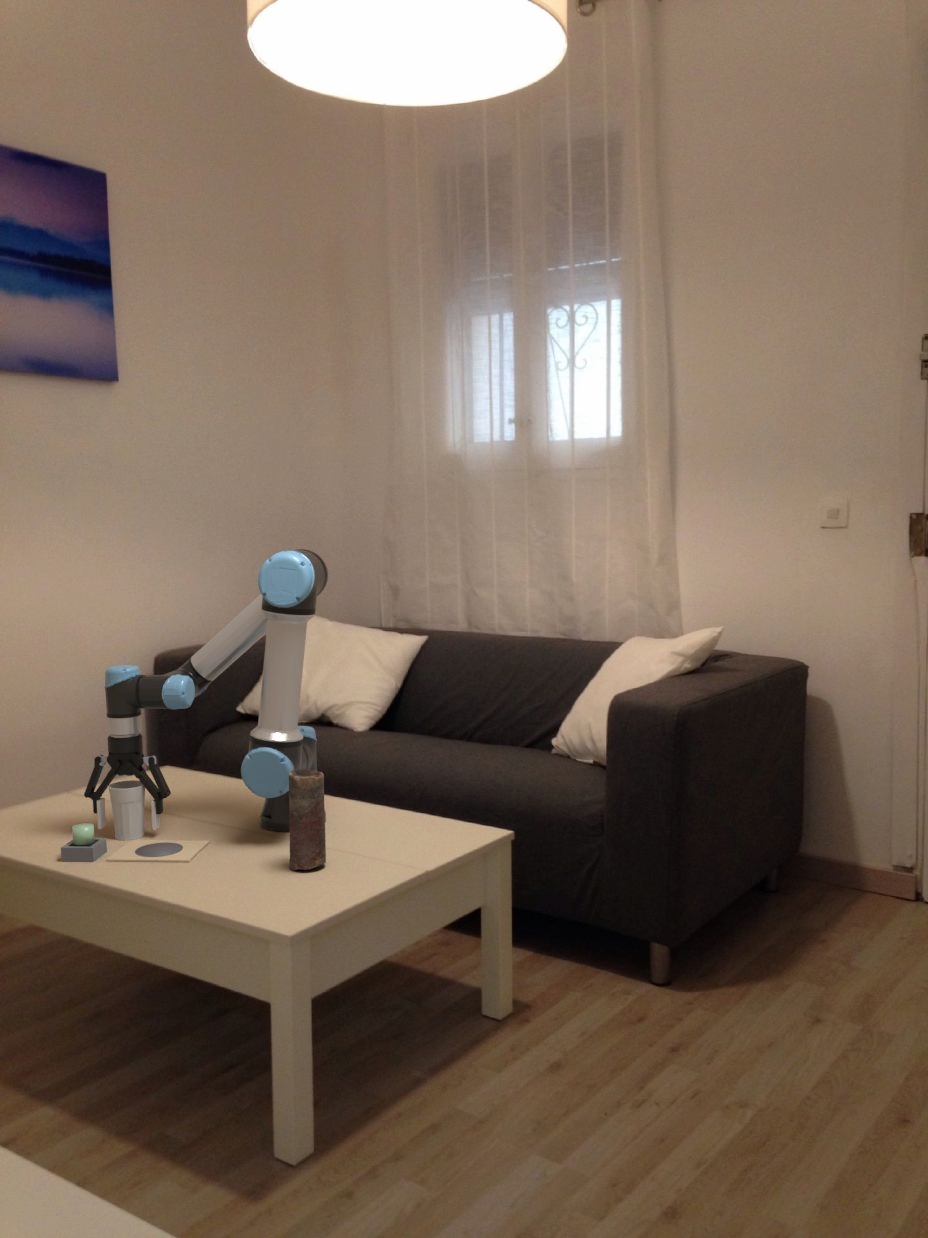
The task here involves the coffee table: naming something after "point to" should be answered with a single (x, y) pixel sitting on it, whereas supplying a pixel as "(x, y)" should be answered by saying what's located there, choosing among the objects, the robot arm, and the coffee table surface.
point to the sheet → (158, 851)
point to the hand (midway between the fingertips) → (129, 827)
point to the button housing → (83, 851)
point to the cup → (128, 809)
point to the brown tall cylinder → (306, 819)
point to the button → (83, 834)
